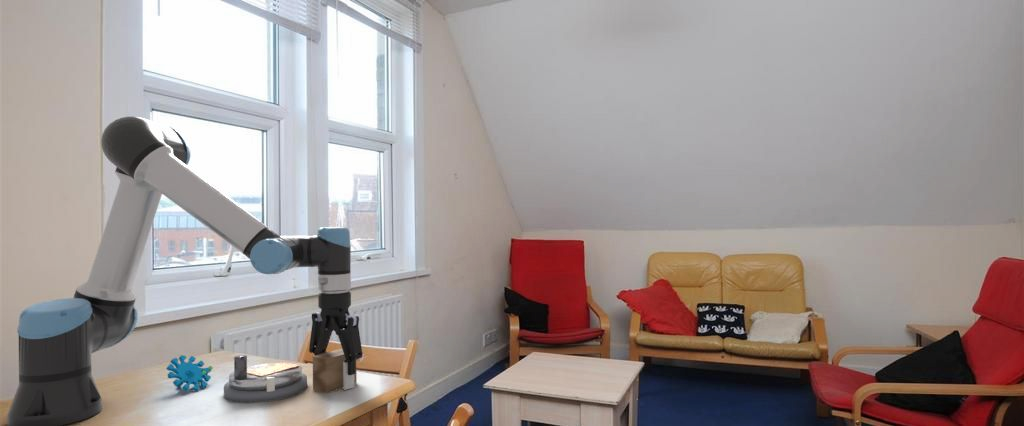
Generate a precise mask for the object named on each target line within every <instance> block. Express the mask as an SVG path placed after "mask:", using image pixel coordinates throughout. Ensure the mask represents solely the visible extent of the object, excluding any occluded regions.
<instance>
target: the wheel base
mask: <svg viewBox="0 0 1024 426" xmlns="http://www.w3.org/2000/svg"><path fill="white" fill-rule="evenodd" d="M307 386H308V377H307V375H306V374H305V373H303V372H302V378H301V379H300V380H299V381H297V382H295V383H293V384H290V385H287V386H284V387H279V388H275V377H269V378H267V390H254V391H247V390H237V389H233V388H231V387H230V386H229V381H227V382H225V384H224V385H223V397H224V399H226V400H227V401H231V402H236V403H246V404H247V403H248V404H249V403H263V402H264V403H266V402H271V401H279V400H282V399H286V398H290V397H293V396H296V395H297V394H300V393H302V392H303V391H305V390H306V389H307Z"/></svg>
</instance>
